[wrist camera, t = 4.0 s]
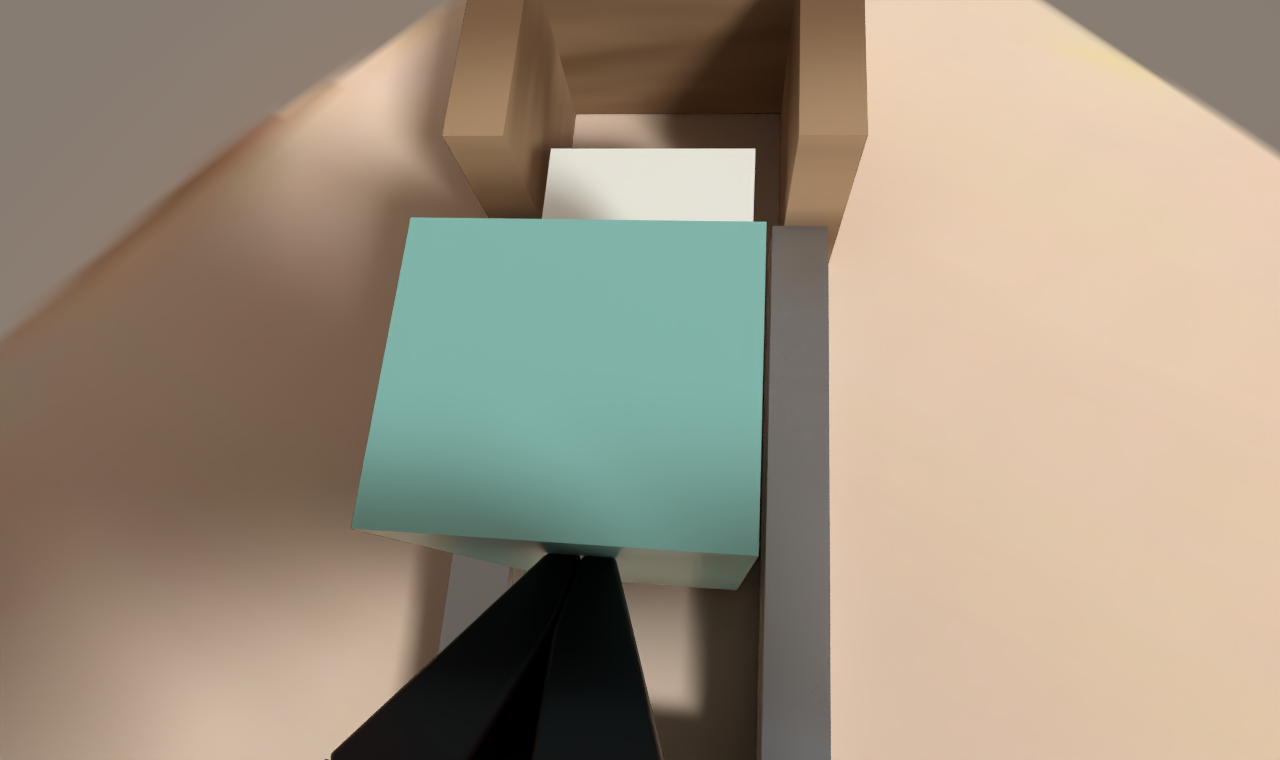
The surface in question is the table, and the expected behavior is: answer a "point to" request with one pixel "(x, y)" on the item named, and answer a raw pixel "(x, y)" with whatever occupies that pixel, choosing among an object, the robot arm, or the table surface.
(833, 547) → the table surface
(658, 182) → the teal block
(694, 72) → the socket
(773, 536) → the rails
